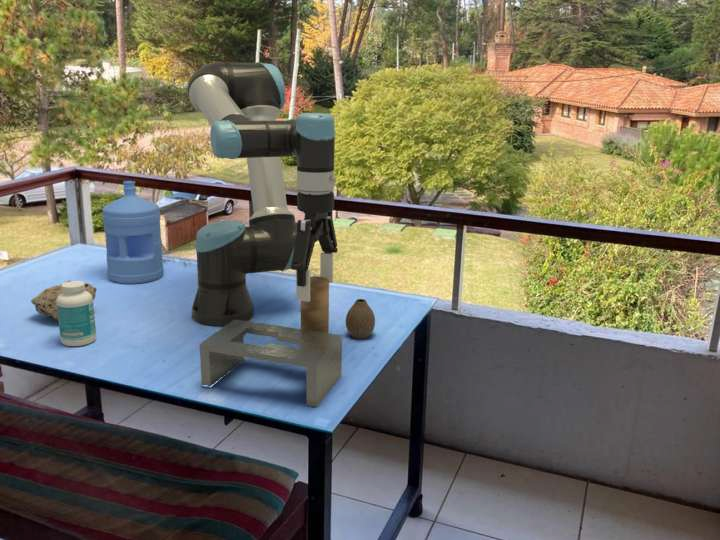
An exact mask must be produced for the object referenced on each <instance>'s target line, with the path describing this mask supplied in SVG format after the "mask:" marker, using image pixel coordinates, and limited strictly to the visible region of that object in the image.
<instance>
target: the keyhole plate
mask: <svg viewBox="0 0 720 540" xmlns="http://www.w3.org/2000/svg"><path fill="white" fill-rule="evenodd" d="M247 334H250V335H255V336H256V335H257V336H263V337H270V338H275V339H276V342H278V343H286V344H291V345H298V346H297V347H293V346H288V345H280V344H274V343H267V344H266V345H264V346H262V345H256V344H251V343H250V344H249V343H244V341H245V340H244V337H245V336H246V335H247ZM342 353H343V335H342V334H337V333H330V332H329V333H324V332H317V331H310V330H303V329H301V328H296V327H289V326H282V325H276V324H275V325H274V324H269V323H263V322H257V321H255V322H254V321H249V320H247V321H242V320H235V319H234V320H233V321H231V322H230V323H229V324H227V325H226V326H222V327H221V328H220V329H219V330H217V331H216V332H214V333H213V334H212V335H210V336H209V337H207V338H206V339H205V340H203V341H202V342H201V343H199V356H200V357H199V358H200V361H199V362H200V378H201V379H200V382H201V386H202V385H208V386H211V385H212V384H214V383H215V382H216V381H218V380H219V379H220V378H221V377H223V376H224V375H226V374H227V373H228V372H229V371H231V370H232V369H233V370H234V369H235V368H237V367H238V366H239V365H240V364H241V363H243V361H245V359H246V358H247V359H253V360H259V361H263V362H265V361H266V362H271V363H272V362H273V363H277V364H283V365H290V366H296V367H302V368H306V396H305V397H306V399H305V400H306V405H310V406H309V407H311V406H315V407H314V408H316V407H317V408H318V407H319V405H320V404H321V403H322V402H323V400H324V399H325V397H326V396H327V395H328V394H329V393H330V391H331V390H332V389H333V387H334V386H335V385H336V384H337V382H338V381H339V380H340V379H341V377H342V371H343V370H342V368H343V366H342V363H343V362H342V361H343V359H342V357H343V354H342ZM233 370H232V371H233ZM229 373H230V372H229ZM229 373H228V374H229ZM228 374H227V375H228ZM227 375H226V376H227ZM323 398H324V399H323ZM320 402H321V403H320ZM319 403H320V404H319Z"/></svg>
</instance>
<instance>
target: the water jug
mask: <svg viewBox="0 0 720 540" xmlns="http://www.w3.org/2000/svg"><path fill="white" fill-rule="evenodd" d="M122 184H123V192H124V193H123V196H122V197H119V198H117V199H116V200H114V201H112V202H110V203H107V204H106V205H104V206H103V207H102V209H101V210H102V223H103V231H104V233H105V249H106V265H107V269H106V270H107V271H106V273H107V278H108V280H110V281H112V282H114V283H118V284H125V285H126V284H127V285H135V284H137V285H138V284H145V283H149V282H153V281H156V280H158V279H160V278H161V277H162V276H163V275H164V273H165V271H164V270H165V269H164V261H163V241H162V233H161V232H162V231H161V212H160V206H159V205H158V204H157V203H155V202H153V201H151V200H148V199H145V198H143V197H141V196H138V195H137V194H136V186H135V185H136V181H135V180H124V181H123V182H122Z"/></svg>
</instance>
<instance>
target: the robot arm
mask: <svg viewBox="0 0 720 540" xmlns="http://www.w3.org/2000/svg"><path fill="white" fill-rule="evenodd" d="M282 75H283V74H282V73H281V71H280V69H279V68H278V67H277V66H276V65H274V64H272V63H263V62H259V61H257V62H231V61H230V62H228V61H226V62H225V61H215V62H210V63H207V64H205V65H203V66H201V67H199V68H197V70H196V71H194V72H193V74H191V77H190V78H189V80H188V82H187V87H186V95H187V97H188V101H189V102H190V104H191V105H192V107H193V108H194V109H195V110H196V111H197V112H198V113H201V114H202V115H203V116H204V118H205V119H206V121H207V122H208V124H209V126H210V131H209V132H210V134H209V135H210V136H209V137H210V139H209V141H210V146H211V147H210V148H211V150H212V154H213V155H214V156H215V157H216V158H217V159H229V160H236V159H246V164H247V171H248V180H249V186H250V187H249V188H250V195H251V202H252V209H253V214H252V215H251V216H250V218H249V219H248V225H249V226H246V225H245V223H244V222H243V221H241V220H238V219H237V220H236V219H235V220H228V219H227V220H221V221H215V222H211V223H208V224H205V225H204V226H202V227H201V228H199V229H198V231H197V232H196V239H195V252H196V268H197V269H196V270H197V271H196V272H197V290H196V293H195V297H194V299H193V304H192V306H191V307H192V308H191V313H192V315H191V316H192V317H191V318H192V319H193V321H195V322H197V323H199V324H201V325H205V326H213V327H215V326H216V327H224V326H226V325H227V324H229V323H230V322H231V321H233V320H234V319H235V320H242V321H249V320H251V319H253V317H254V315H255V312H254V311H255V309H254V308H255V307H254V304H253V300H252V297H251V295H250V291H249V289H248V286H247V281H246V280H247V274H259V273H265V272H278V271H281V272H284V271H287V270H291V271H295V272H296V273H295V278H296V281H295V284H296V285H295V288H296V289H295V290H296V293H295V294H296V295H295V296H296V301H300V302H301V301H307V302H309V301H310V277H311V269H309V267H310V263H311V259H312V255H313V251H314V248H315V243H317V242H318V244H319V246H320V248H321V251H322V252H320V268H319V269H320V272H319V273H320V275H319V277H324V278H327V279H328V280H329V284H333V283H334V253H335V254H337V253H338V249H339V248H337V247H338V240H337V235H336V231H335V225H334V219H333V211H334V209H335V194H334V192H333V190H335V189H334V188H335V182H336V180H337V176H336V175H335V149H336V148H335V147H336V145H335V139H336V138H335V136H336V129H335V118H334V116H333V115H332V114H330V113H323V112H302V113H300V114H298V115H297V116H296V118H295V119H294V118H291V119H286V120H277V119H278V117H279V116H280V115H281V110H282V109H283V108H284V107H285V103H286V98H287V97H286V87H285V81H284V78H283V76H282ZM286 157H287V158H291V157H292V158H293V157H296V189H297V190H298V192H297V193H296V202H297V203H296V207H297V210H298V211H299V212H303V214H304V218H303V220H302V219H298V220H297V222H296V217H295V214H294V213H293V212H292V211H290V210H289V209H288V203H287V196H286V188H285V181H284V180H285V179H284V174H283V167H282V160H281V158H286Z"/></svg>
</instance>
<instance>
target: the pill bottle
mask: <svg viewBox="0 0 720 540" xmlns="http://www.w3.org/2000/svg"><path fill="white" fill-rule="evenodd" d="M70 281H71V282H67V281H66V283H65V282H63V283H61V284H62V285H61V284H60V285H61V286H62V291H63V293H62V294H60V295H59V296H58V297H57V299H56V304H57V312H58V319H57V321H58V329H59V337H60V342H61V343H62V344H63V345H64V346H67V347H80V346H86V345H89V344H91V343H93V342H94V341H95V340H96V338H97V328H96V320H95V319H96V318H95V311H94V310H95V309H94V308H95V307H94V300H93V297H92V295H91V294H90V293H89V292H87V291H84V290H85V284H84V281H81V280H73V281H72V280H70Z"/></svg>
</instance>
